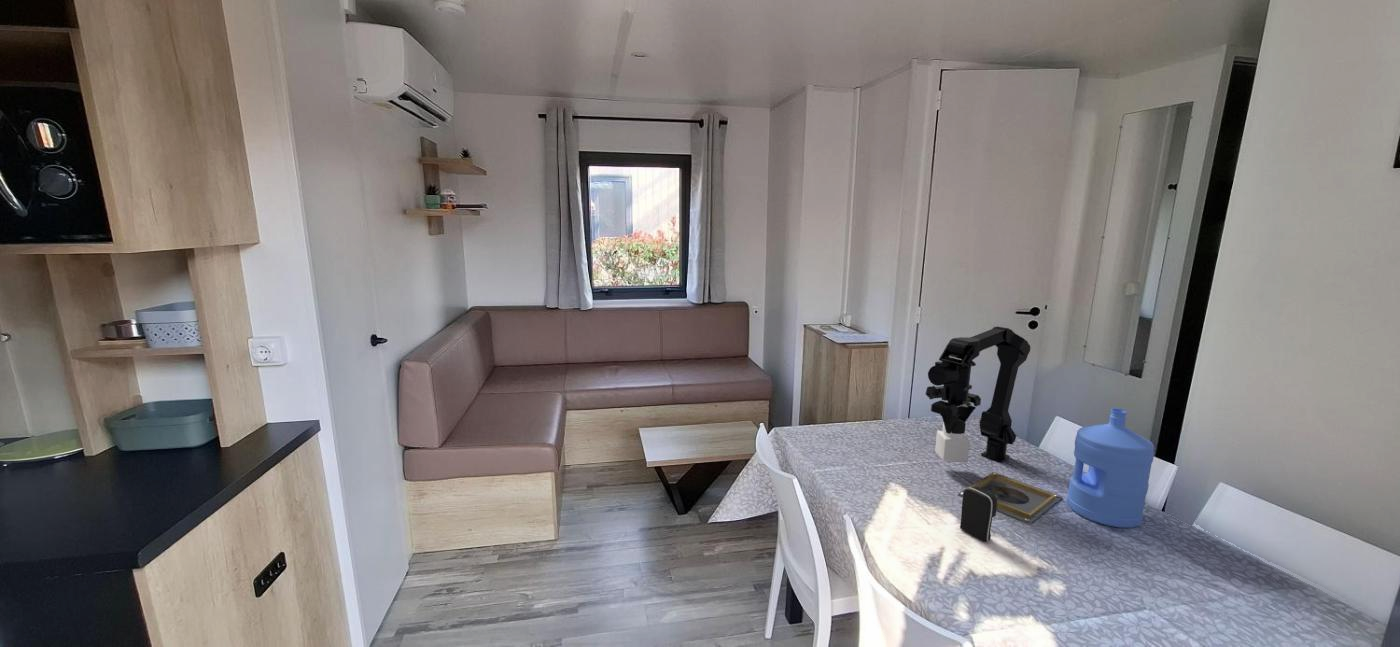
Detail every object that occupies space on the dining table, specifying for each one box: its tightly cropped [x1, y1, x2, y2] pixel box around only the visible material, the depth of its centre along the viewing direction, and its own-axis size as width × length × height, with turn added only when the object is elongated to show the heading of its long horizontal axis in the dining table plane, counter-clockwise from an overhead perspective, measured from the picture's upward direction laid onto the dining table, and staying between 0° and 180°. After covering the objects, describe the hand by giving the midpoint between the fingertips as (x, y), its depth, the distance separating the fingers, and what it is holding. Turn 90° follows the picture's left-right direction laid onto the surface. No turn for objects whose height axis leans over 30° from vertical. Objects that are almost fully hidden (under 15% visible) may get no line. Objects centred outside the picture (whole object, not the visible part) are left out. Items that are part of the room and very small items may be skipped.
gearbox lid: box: [957, 472, 1063, 525], centre depth 140 cm, size 22×18×1 cm
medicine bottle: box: [934, 419, 971, 463], centre depth 153 cm, size 7×7×12 cm
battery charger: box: [959, 486, 997, 543], centre depth 121 cm, size 7×4×11 cm, turn 28°
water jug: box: [1066, 408, 1155, 529], centre depth 130 cm, size 16×16×28 cm
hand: (953, 430), depth 153 cm, fingers closed on medicine bottle, 6 cm apart
